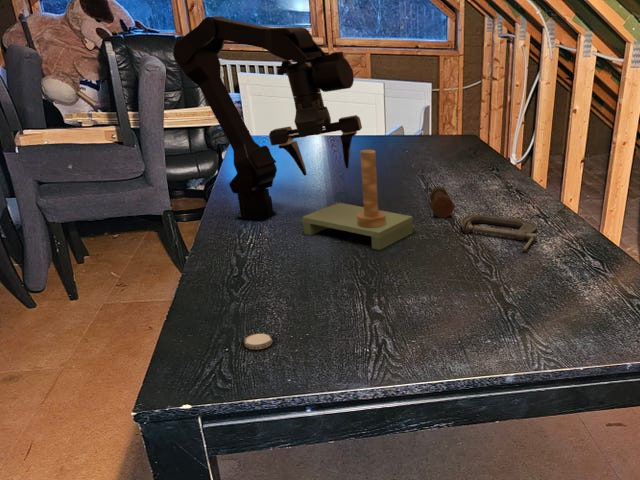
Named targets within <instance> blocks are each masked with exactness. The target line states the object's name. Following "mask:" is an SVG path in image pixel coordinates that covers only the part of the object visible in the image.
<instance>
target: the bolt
mask: <svg viewBox="0 0 640 480" xmlns="http://www.w3.org/2000/svg"><path fill="white" fill-rule="evenodd" d="M428 197H429V199H430V201H431V203H430V209H431V211H432V212H433V214H434V216H435V217H436V218H437V219H438V218H439V219H442V218H443V219H446V218H450V216H452V213H453V211H454V210H455V208H456V207H455V204H454V202H453V200H452V199H451V197H450V195H449V193H448V192H447V190H446V188H445V187H444V186H435V187H433V188H432V190H431V192H430V194H429V196H428Z"/></svg>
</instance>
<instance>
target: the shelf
mask: <svg viewBox="0 0 640 480" xmlns="http://www.w3.org/2000/svg"><path fill="white" fill-rule="evenodd" d="M363 211H364V206H359V205H354V204H350V203H343V202H337V203H335V204H332V205H329V206H326V207H325V208H321V209H319V210H317V211H314V212H311V213H309V214H307V215H304V216H302V217H301V219H302V228H303V234H304V235H307V236H313V235H316V234H318V233H320V232H322V231H325V230H328V229H333V230H339V231H342V232H348V233H352V234H358V235H363V236H367V237H370V241H371V249H373V250H376V251H377V250H378V251H381V250H383V249H385V248H387V247H389V246H391V245H393V244H394V243H396V242H398V241H400V240H403V239H404V238H406V237H409V236H411V235H412V234H413V233H414V221H413V220H414V219H413V217H414V216H412V215H407V214H402V213H396V212H391V211H386V210H381V209H378V211H381V212H384V213H385V214H386V225H384V226H382V227H378V228H364V227H360V226H359V225H358V224H357V214H358V213H360V212H363Z"/></svg>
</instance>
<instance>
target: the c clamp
mask: <svg viewBox="0 0 640 480" xmlns="http://www.w3.org/2000/svg"><path fill="white" fill-rule="evenodd" d="M472 224H488V225H495V226H501V227H509V228H516V229H517V230H509V229H501V228H494V227H487V226H481V225H480V226H479V225H472ZM459 225H460V227H461V231H462V233H464V234H469V233H472V232H474V233H481V234H487V235H494V236H503V237H508V238H514V239H515V240H516V241H523V242H525V241H526V240H528V241H527V243H526V244H525V245H524V247H523V248H522V251H523V252H527V251H528V249H529V247H530V246H531V244H532V243H533V241H534V242H535V241H537V239H538V234H537V233H535V232H536V231H537V229H538V226H537V225H536V223H533V222H531V221H528V220H524V219H523V220H522V219H515V218H510V217H509V218H508V217H501V216H494V215H488V214H469V215H466V216H464V217H463V218H461V220H460V222H459Z"/></svg>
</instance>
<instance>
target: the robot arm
mask: <svg viewBox="0 0 640 480" xmlns="http://www.w3.org/2000/svg"><path fill="white" fill-rule="evenodd" d="M312 36H313V35H312V34H311V32H310V30H309V29H308V28H305V27H303V26H289V27H288V26H285V27H269V26H264V25H259V24H253V23H249V22H244V21H239V20H235V19H229V18H226V17H224V16H218V15H217V16H206V17H204V19H202V20H201V22H200V23H199V24H198V25H197V26H196V27H194V28H193V29H191V30H190V31H188V33H186V34H185V35H184V36H183V37H182V38H181V39H179V40H176V42H175V43H174V46H173V51H172V56H173V59H174V61H175V63H176V64H177V66H178V67H179V68H180V70H181V71H182V73H183V74H184V75H185V77H187V78H188V79H189V80H190V81H192V83H194V84H196V85H197V86H198V88H199V90H201V92H202V94H203V97H204V98H205V100H206V102H207V104H208V106H209V107H210V110H211V111H212V113H213V115H214V117H215V119H216V121H217V123H218V124H219V126H220V128H221V130H222V132H223V133H224V136H225V137H226V139H227V142H228V143H229V145H230V146H231V148H232V152H233V166H234V168H235V171H236V174H235V175H234V177H233V178H232V179H231V181H230V182H229V183H228V185H229V188H230V190H231V192H232V194H237V199H238V206H239V211H240V212H239V213H240V214H238V215H236V218H237V219H239V220H248V221H249V220H250V221H260V222H261V221H265V220H266V219H268V218H270V217H271V216H273V215H275V213H276V211H275V210H274V208H273V200H272V195H270V190H269V188H271V187H273V184H274V180H275V178H276V176H277V171H278V170H277V169H278V168H277V166H276V163H277V161H276V159H275V158H274V157H273V155H272V154H271V150H270V147H268V146H267V145H262V146H260V145H259V144H258V143H257V142H256V141H255V140H254V139H253V137H252V135H251V133H250V131H249V129H248V127H247V125H246V124H245V122H244V120H243V117H242V116H241V113H240V111H239V110H238V107H236V104H235V102H234V100H233V99H232V97H231V95H230V92H229V90H228V89H227V86H226V85H225V83H224V81H223V79H222V76H221V75H222V74H221V61H220V59H219V56H218V55H219V54H220V52H221V51H223V48H224V45H225V42H226V41H228V42H232V43H236V44H237V43H238V44H242V45H247V46H251V47H256V48H261V49H264V50H266V51H267V52H269V53H270V54H271V55H274V56H275V57H278V58H280V59H282V62H281V64H280V67H278V69H277V70H276V73H277V75H286V74H287V78H288V83H289V86H290V89H291V94H292V97H293V101H294V107H295V116H294V124H295V127H296V128H294V129H293V128H292V126H290V125H289V126H285V127H280V128H274V129H272V130H270V132H269V133H268V138H269V141H270V145H271V146H277V145H278V149H279V150H280V149H283V150H285V151H286V152H287V153H288V154H289V155H290V157H291V158H292V159H293V160H294V162H295V164H296V166H297V167H298V168H299V170H300V171H301V173H302V175H303V176H304V177H305V176H307V175H308V173H307V170H306V165H305V162H304V159H303V156H302V152H301V150H300V147H299V143H298V141H297V140H295V139H299V138H306V137H311V136H319V135H322V134H328V133H335V132H339V131H340V132H341V133H342V134H341V135H339V136H340V137H339V138H340V141H341V145H342V147H341V148H342V154H343V162H344V166H345V169H349V166H350V165H349V164H350V152H351V144H352V140H353V137H355V136H356V135H357V134H358V132H359V131H361V130H362V129H363V126H362V121H361V117H360V116H358V115H357V114H355V115H349V116H343V117H340V118H338V121H335V122H332V118H331V115H330V111H329V109H328V107H327V106H325V103H324V100H323V99H324V98H323V96H322V92H323V93H329V92H333V91H340V90H348V89H351V88H352V87H353V85H354V82H355V81H354V80H355V79H354V77H355V76H354V70H353V68H352V67H351V64H350V62H349V61H348V59H346V58H345V55H344V52H343V51H336V52H331V53H329V54H326V52H324V50H323V49H322V48H321V47H320V46H319V45H318V44H317V43H316V41H314V38H313V37H312ZM292 61H293V63H292ZM309 63H310V66H309V65H308V64H309Z"/></svg>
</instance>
